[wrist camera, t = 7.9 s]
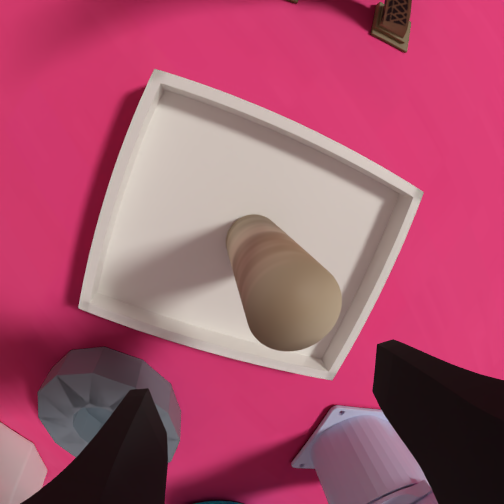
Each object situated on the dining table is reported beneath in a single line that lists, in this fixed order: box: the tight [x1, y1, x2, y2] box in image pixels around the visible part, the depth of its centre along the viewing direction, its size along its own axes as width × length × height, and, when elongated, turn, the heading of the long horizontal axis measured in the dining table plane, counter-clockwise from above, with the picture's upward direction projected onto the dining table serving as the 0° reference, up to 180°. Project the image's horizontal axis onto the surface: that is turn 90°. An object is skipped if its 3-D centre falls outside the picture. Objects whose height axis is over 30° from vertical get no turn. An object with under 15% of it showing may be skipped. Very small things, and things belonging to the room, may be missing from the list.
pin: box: [226, 214, 342, 352], centre depth 14 cm, size 3×3×8 cm
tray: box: [78, 69, 424, 380], centre depth 17 cm, size 16×13×2 cm
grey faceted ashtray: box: [38, 347, 181, 462], centre depth 19 cm, size 10×10×3 cm
